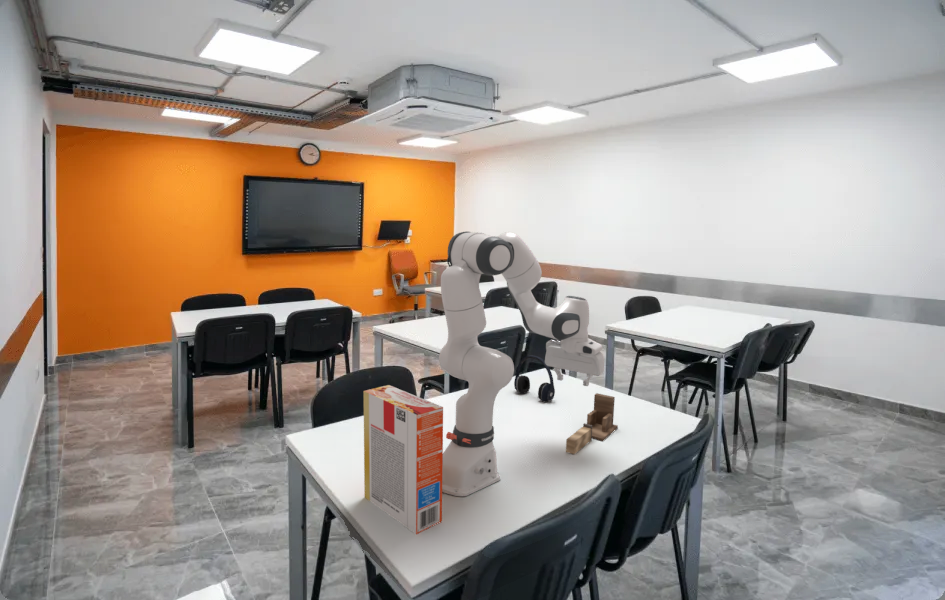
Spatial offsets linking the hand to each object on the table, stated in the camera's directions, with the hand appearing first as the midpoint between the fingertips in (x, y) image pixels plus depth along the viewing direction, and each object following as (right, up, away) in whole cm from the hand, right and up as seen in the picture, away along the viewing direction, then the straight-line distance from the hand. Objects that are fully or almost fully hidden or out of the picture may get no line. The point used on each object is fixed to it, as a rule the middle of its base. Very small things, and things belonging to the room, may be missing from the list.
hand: (572, 382), depth 177 cm
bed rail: (+2, -22, 0) cm, 22 cm away
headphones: (-8, -15, +50) cm, 53 cm away
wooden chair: (+12, -20, +14) cm, 27 cm away
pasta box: (-53, -27, -41) cm, 72 cm away
